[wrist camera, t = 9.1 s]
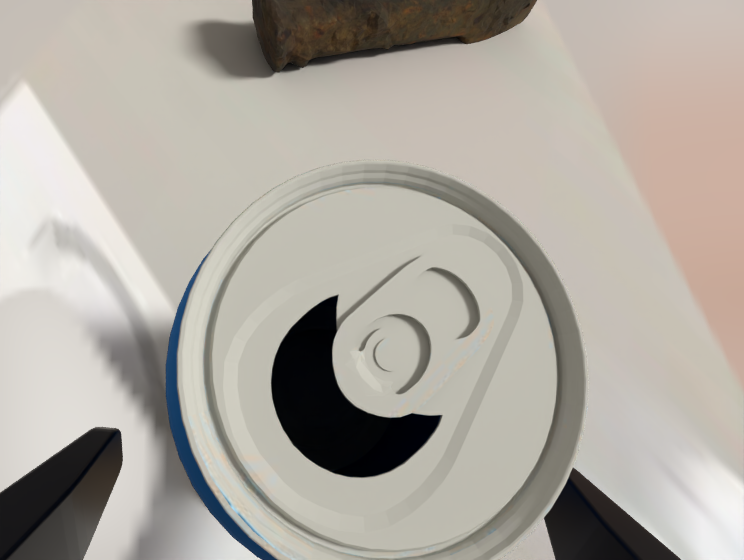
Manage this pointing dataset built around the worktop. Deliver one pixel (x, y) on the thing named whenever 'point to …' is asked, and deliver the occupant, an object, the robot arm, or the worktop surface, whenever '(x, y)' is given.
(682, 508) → the worktop surface
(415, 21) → the hand tool
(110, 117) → the worktop surface
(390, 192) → the beverage can
